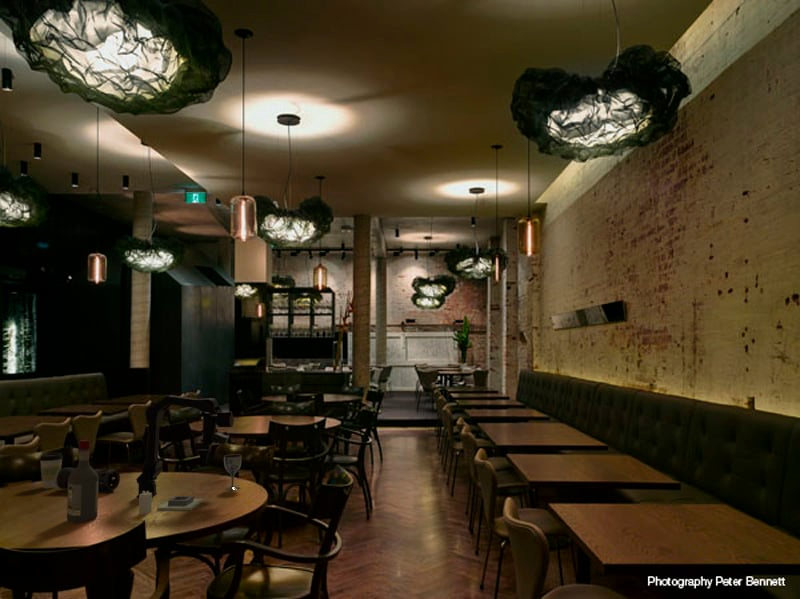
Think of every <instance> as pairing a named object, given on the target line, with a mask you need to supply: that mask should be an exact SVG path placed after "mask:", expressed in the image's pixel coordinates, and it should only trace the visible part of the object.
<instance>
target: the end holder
mask: <svg viewBox="0 0 800 599" xmlns="http://www.w3.org/2000/svg"><path fill="white" fill-rule="evenodd" d="M194 497H195V496H194V495H175V496H174V497H171V498H170V499H169V500H167V501H166V502H164V503H162V504H161V505H159V506H157V507H156V510H157V511H192V510H194V509H195V508H196V507H198V506H200V505H201V504H202V503H204V502H203V501H205V499H204V498H194ZM200 503H201V504H200ZM193 508H194V509H193Z"/></svg>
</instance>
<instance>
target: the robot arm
mask: <svg viewBox="0 0 800 599" xmlns="http://www.w3.org/2000/svg"><path fill="white" fill-rule="evenodd" d="M218 402H219V401H218V400H217V399H216V398H213V397H212V398H211V397H209V398H193V397H184V396H177V395H174V394H171V395H170V394H169V395H166V396H164V398H162V399H161V400H160V401H157V402H156V403H155V404H154V405H150V406H148V407H147V408H145V411H144V412H145V421H146V423H147V426H148V427H147V428H148V430H147V443H146V444H147V445H146V446H147V448H146V459H145V461H144V462H143V466H142V471H141V474H139V476H138V477H137V478H136V479H135V480H136V483H137V484H138V488H137V489H138V492H137V493H138V495H136V498H139V495H140V494H142V492H143V491H145V493H146V491H149V493H152V497H154V496H155V495H157V494H158V493H157V484H156V480H157V478H158V476H159V475H160V474H161V472H162V471H163V462H164V461H163V460H160V458H159V445H160V444H159V443H160V427H161V423H162V421H163V419H164V414H165V412H166V410H168V409H169V408H171V406H179V407H186V408H193V409H196V410H198V411H201V412H200V413H199V414H198V415H197V417H198V418H202V429H201V430H200V433H202V438H201V439H200V441H199V442H197V443H195V444H194V450H195V451H196V452H197V454H198V457H199V458H200V460H201V462H202V464H203V466H207V463H208V457H209V458H210V461H211V462H213V461H214V460H215V457H216V454H217V452H218V451H217V450H218V449H219V447H220V446H222V445H224V446H225V445H227V444H228V441H229V440H230V433H229V432H228V431H224V432H219V430H218V428H233V427H234V423H235V418H234V415H233V411H223V410H222V409H221V407H220V405H219V403H218ZM217 426H218V428H217Z"/></svg>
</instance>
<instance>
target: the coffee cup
mask: <svg viewBox="0 0 800 599" xmlns="http://www.w3.org/2000/svg"><path fill="white" fill-rule="evenodd" d="M63 459H64V456H63V454H62V452H61V453H60V452H53V453H52V452H51V453H45V454H41V456H40V458H39V461H40V473H41V480H42V489H53V488H54V489H55V488H58V487H57V486H56V485H55V483H54V477H55V474H56V473H57V471H58V470H60V469H62V466H63V465H62V462H63Z"/></svg>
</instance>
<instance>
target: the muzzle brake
mask: <svg viewBox="0 0 800 599" xmlns="http://www.w3.org/2000/svg"><path fill="white" fill-rule="evenodd" d="M75 469H76V467H63V468H61V469H60V470H58V471H57V473H56V474H55V477H54V483H55V485H56V486H57V487H56V488H59V489H61V490H68V478H69V475H70V474H71V473H72V472H73V471H74V470H75ZM93 469H94V468H93ZM94 470H95V471H96V472H97V474H98V476H99V479H98V493H114V491H115V490H116V489H117V488H118V486H119V484H120V480H121V475H120V472H119V471H118V470H116V469H97V468H96V469H94Z"/></svg>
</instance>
